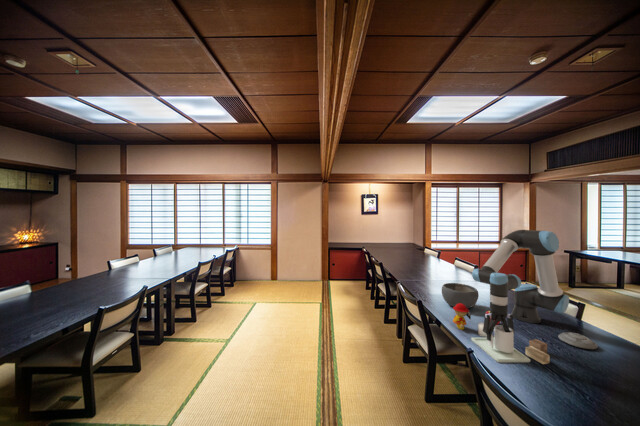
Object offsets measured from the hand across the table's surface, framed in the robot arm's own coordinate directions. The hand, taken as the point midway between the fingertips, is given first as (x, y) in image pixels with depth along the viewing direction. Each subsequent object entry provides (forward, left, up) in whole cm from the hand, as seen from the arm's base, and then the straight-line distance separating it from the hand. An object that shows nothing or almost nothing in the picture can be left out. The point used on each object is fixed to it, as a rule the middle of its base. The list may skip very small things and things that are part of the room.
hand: (498, 346), depth 126 cm
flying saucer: (-49, -7, -3) cm, 49 cm away
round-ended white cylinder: (-3, -16, -2) cm, 16 cm away
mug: (0, 0, -1) cm, 1 cm away
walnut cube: (-20, +1, -2) cm, 20 cm away
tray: (0, 0, -2) cm, 2 cm away
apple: (-19, -30, -2) cm, 36 cm away
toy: (+5, -25, -2) cm, 26 cm away
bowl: (-14, -59, -2) cm, 61 cm away
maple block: (-14, +7, -2) cm, 16 cm away
